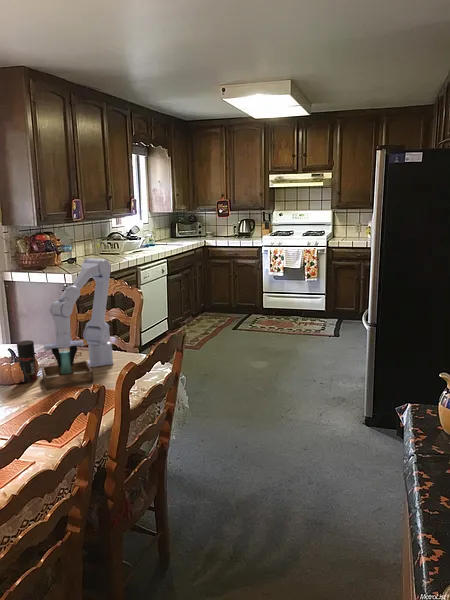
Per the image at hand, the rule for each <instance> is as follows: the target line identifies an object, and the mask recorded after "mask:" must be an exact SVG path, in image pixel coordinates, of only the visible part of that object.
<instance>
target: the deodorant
mask: <svg viewBox="0 0 450 600" xmlns="http://www.w3.org/2000/svg"><path fill="white" fill-rule="evenodd" d="M16 347H17V348H16V349H17V358H18V367H19V366H20V367H21V370H22V371H23V374H24V382H25V384H26V383H27V384H28V383H33V382H36V381H38V371H37V364H36V355H35V354H36V353H35V343H34V341H33V340H27V339H26V340H21V341H17V343H16Z"/></svg>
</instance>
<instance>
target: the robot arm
mask: <svg viewBox="0 0 450 600" xmlns="http://www.w3.org/2000/svg"><path fill="white" fill-rule="evenodd" d="M111 269H112V265H111V263H110V262H109V260H108V259H105V258H90V257H88V258H87V257H86V258H85V259H84V260H83V262H82V263H81V270H80V271H79V274H78V275H77V277H76V278H75V280H74V281H73V284H72V285H68V286H66V287H65V288H64V291H63V292H62V294H61V295H60V296H59V298H58V299H57V300H56V301H54V302H52V303H51V305H50V308H49V312H50V314H51V316H52V320H53V321H54V322H53V323H54V336H55V342H52V343H48V344H43V349H44V352H46V351H51V352H52V354H53V356H54V357H55V361H56V363H57V365H58V367H59V368H60V367H61V365H60V356H59V352H60V349H67V348H69V352H70V359H71V366H73V363H74V361H75V356H76V354H77V352H78V347H84V346H85V344H84V343H85V342H86V344H87V345H88V347H87V348H88V356H89V357H88V358H89V359H88V360H86V361H87V363H88V365H89V366H90V368H96V367H101V366H110V365H114V360H113V346H112V342H111V341H109V340H110V338H111V334H110V325H109V324H108V323H107V322H106V321H105V319H106V312H107V311H106V310H107V303H108V297H109V286H110V280H111V279H110V277H111ZM91 278H92V279H93V280H94V282H95V287H94V295H93V302H92V303H93V304H92V311H91V319H90V320H89V321H88V322H86V323H85V327H84V330H83V332H82V333H83V334H82V336H83V339H81V340H72V328H71V317H70V316H71V315H72V313H73V311H74V307H75V303H76V302H77V300H78V299H79V297H80V296H81V290H82V288H83V287H84V285H86V283H88V281H89V280H90V279H91ZM84 341H85V342H84Z"/></svg>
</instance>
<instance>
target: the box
mask: <svg viewBox="0 0 450 600" xmlns="http://www.w3.org/2000/svg"><path fill="white" fill-rule="evenodd" d="M87 361H88V360H84V361H83V360H82V361H75V362H73V366H71V373H69V374H61V370H60V368H59V367H58V364H55V365H46V366H41V372H42V380H43V384H44V387H45V391H49V390H50V391H51V390H56V389H64V388H69V387H68V386H70V387H77V386H82V385H88V384H89V385H90V384H94V373H93V372H94V371H93V370H92V367H90V366H89V364H88V362H87ZM63 387H64V388H63Z"/></svg>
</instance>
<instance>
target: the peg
mask: <svg viewBox="0 0 450 600" xmlns="http://www.w3.org/2000/svg"><path fill="white" fill-rule="evenodd" d="M59 356H60V365H61V367H60V370H61V374H69V373H71V359H70V350H63V351H62V350H61V351H59Z"/></svg>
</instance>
